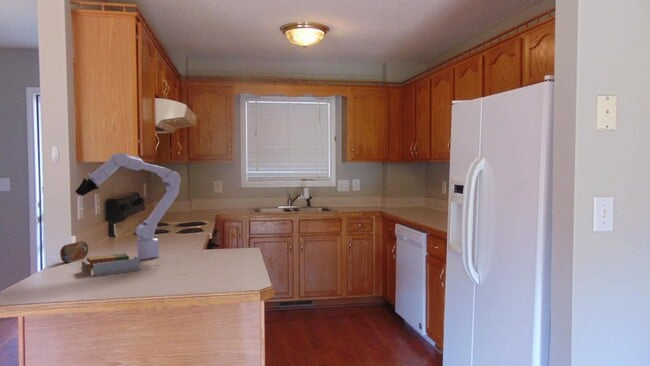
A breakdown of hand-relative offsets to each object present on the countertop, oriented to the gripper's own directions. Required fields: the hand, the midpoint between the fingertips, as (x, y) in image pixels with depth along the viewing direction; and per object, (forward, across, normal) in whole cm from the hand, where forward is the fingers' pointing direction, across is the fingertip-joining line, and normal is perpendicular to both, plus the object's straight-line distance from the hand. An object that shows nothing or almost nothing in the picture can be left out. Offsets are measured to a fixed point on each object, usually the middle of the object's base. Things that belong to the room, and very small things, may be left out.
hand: (78, 193), depth 198 cm
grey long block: (+13, +23, +31) cm, 40 cm away
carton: (+14, +5, +31) cm, 34 cm away
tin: (+22, -14, +24) cm, 35 cm away
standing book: (+22, +17, +24) cm, 36 cm away
